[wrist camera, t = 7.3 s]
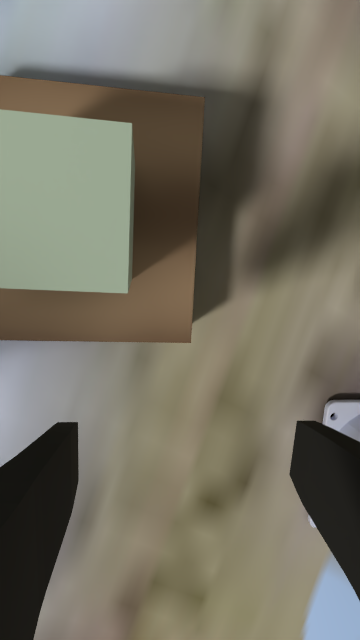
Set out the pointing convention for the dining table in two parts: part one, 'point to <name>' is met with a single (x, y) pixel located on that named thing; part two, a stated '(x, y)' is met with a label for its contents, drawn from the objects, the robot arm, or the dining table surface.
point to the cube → (66, 203)
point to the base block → (148, 228)
